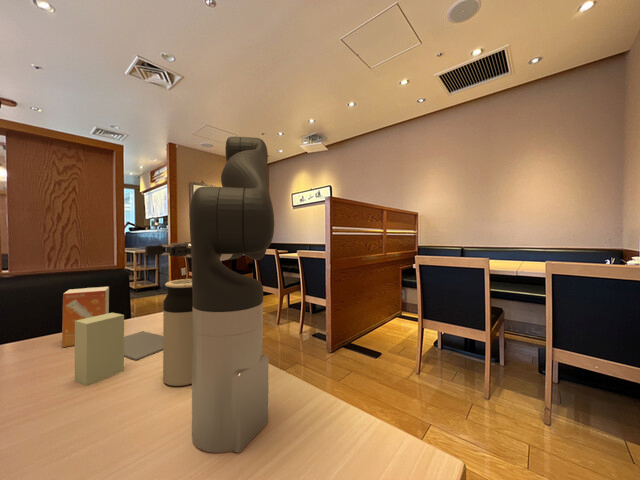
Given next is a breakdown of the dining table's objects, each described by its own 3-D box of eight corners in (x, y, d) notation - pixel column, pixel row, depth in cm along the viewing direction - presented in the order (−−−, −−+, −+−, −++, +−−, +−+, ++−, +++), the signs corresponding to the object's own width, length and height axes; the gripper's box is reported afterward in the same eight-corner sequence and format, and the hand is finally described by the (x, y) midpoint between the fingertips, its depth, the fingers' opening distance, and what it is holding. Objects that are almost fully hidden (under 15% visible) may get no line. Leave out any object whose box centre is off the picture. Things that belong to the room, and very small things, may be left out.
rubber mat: (182, 342, 65) (182, 340, 65) (136, 360, 55) (136, 358, 55) (142, 332, 72) (142, 330, 72) (94, 347, 62) (94, 345, 62)
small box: (61, 348, 61) (61, 293, 61) (68, 339, 67) (68, 288, 67) (105, 341, 66) (106, 289, 66) (109, 333, 71) (109, 286, 71)
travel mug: (154, 379, 48) (154, 282, 48) (193, 362, 55) (194, 277, 55) (179, 392, 44) (180, 286, 44) (218, 372, 51) (219, 280, 51)
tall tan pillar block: (123, 370, 51) (124, 315, 51) (86, 386, 46) (86, 323, 46) (112, 366, 53) (112, 312, 53) (74, 380, 48) (74, 320, 47)
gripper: (195, 235, 77) (138, 234, 62) (232, 235, 71) (179, 234, 56) (195, 260, 77) (138, 265, 62) (232, 263, 71) (179, 269, 57)
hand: (157, 251), depth 59 cm, fingers open, 8 cm apart
